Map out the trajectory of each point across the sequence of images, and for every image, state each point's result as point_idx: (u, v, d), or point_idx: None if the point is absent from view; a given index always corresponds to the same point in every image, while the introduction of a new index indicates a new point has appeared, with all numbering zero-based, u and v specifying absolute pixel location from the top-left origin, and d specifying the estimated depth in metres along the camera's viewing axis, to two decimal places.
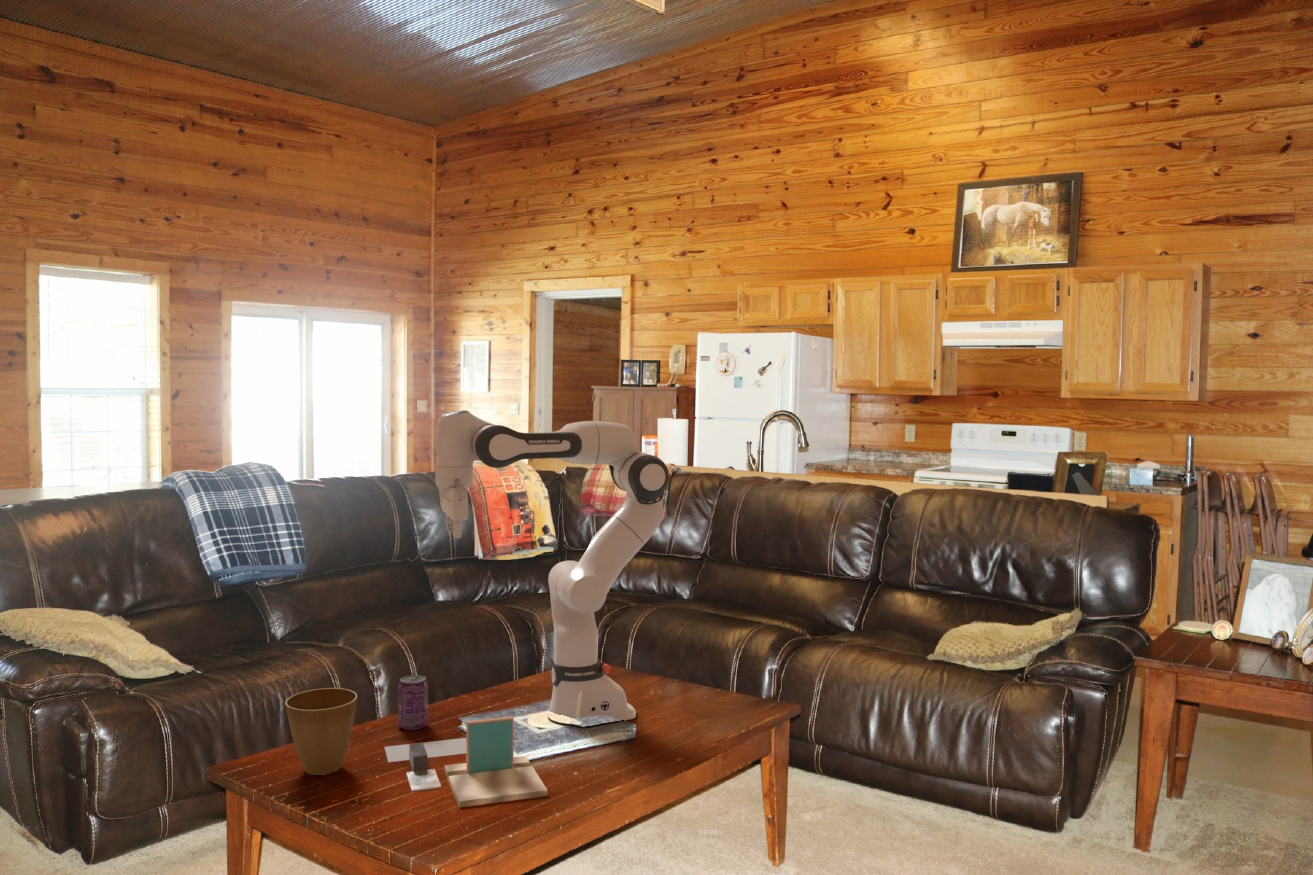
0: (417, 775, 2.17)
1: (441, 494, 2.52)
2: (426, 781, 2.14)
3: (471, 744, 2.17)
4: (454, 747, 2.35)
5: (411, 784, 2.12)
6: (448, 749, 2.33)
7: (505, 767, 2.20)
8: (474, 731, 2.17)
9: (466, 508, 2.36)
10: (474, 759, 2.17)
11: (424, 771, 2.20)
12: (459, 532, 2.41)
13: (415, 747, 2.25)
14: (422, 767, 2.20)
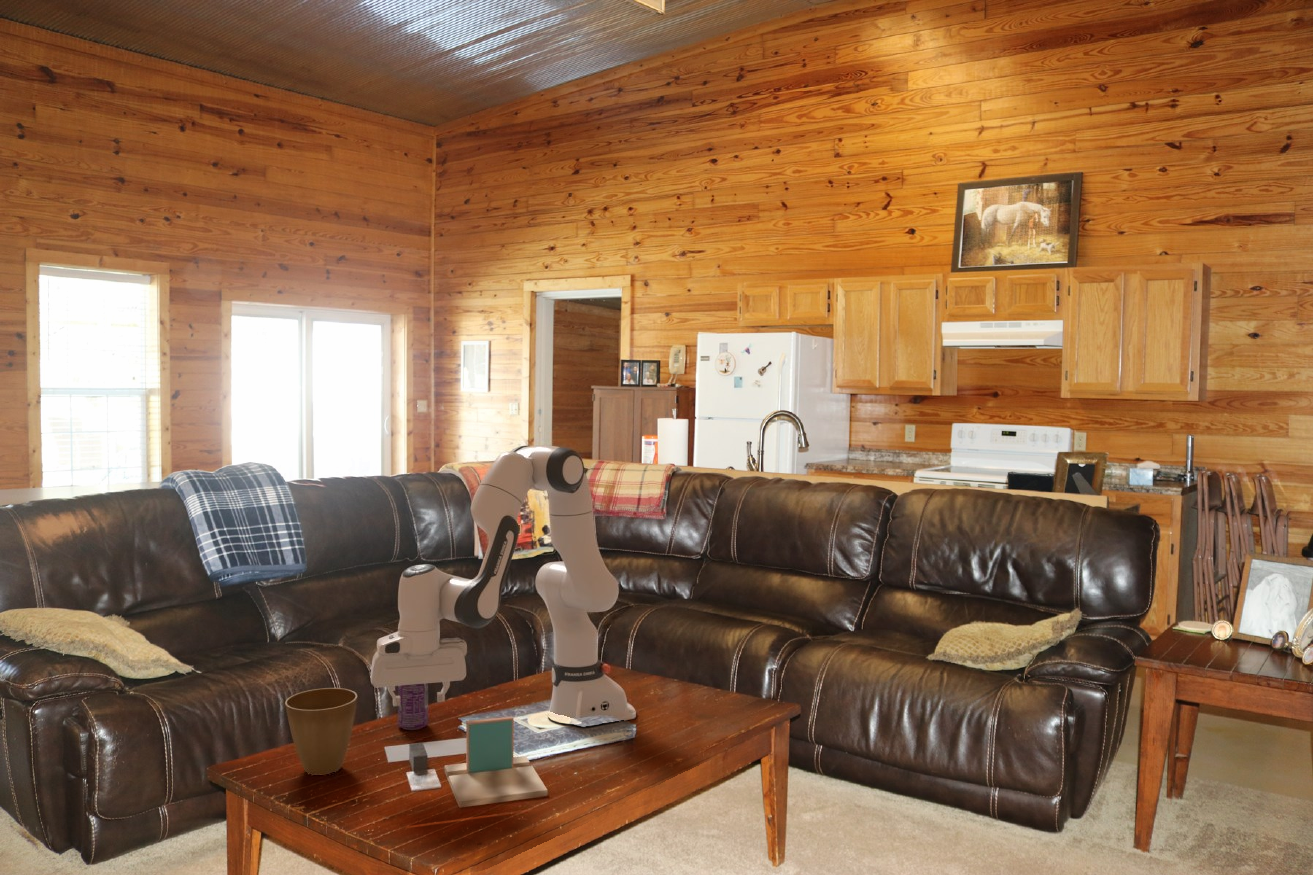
0: (417, 775, 2.17)
1: (382, 667, 2.16)
2: (426, 781, 2.14)
3: (471, 744, 2.17)
4: (454, 747, 2.35)
5: (411, 784, 2.12)
6: (448, 749, 2.33)
7: (505, 767, 2.20)
8: (474, 731, 2.17)
9: None
10: (474, 759, 2.17)
11: (424, 771, 2.20)
12: None
13: (415, 747, 2.25)
14: (422, 767, 2.20)
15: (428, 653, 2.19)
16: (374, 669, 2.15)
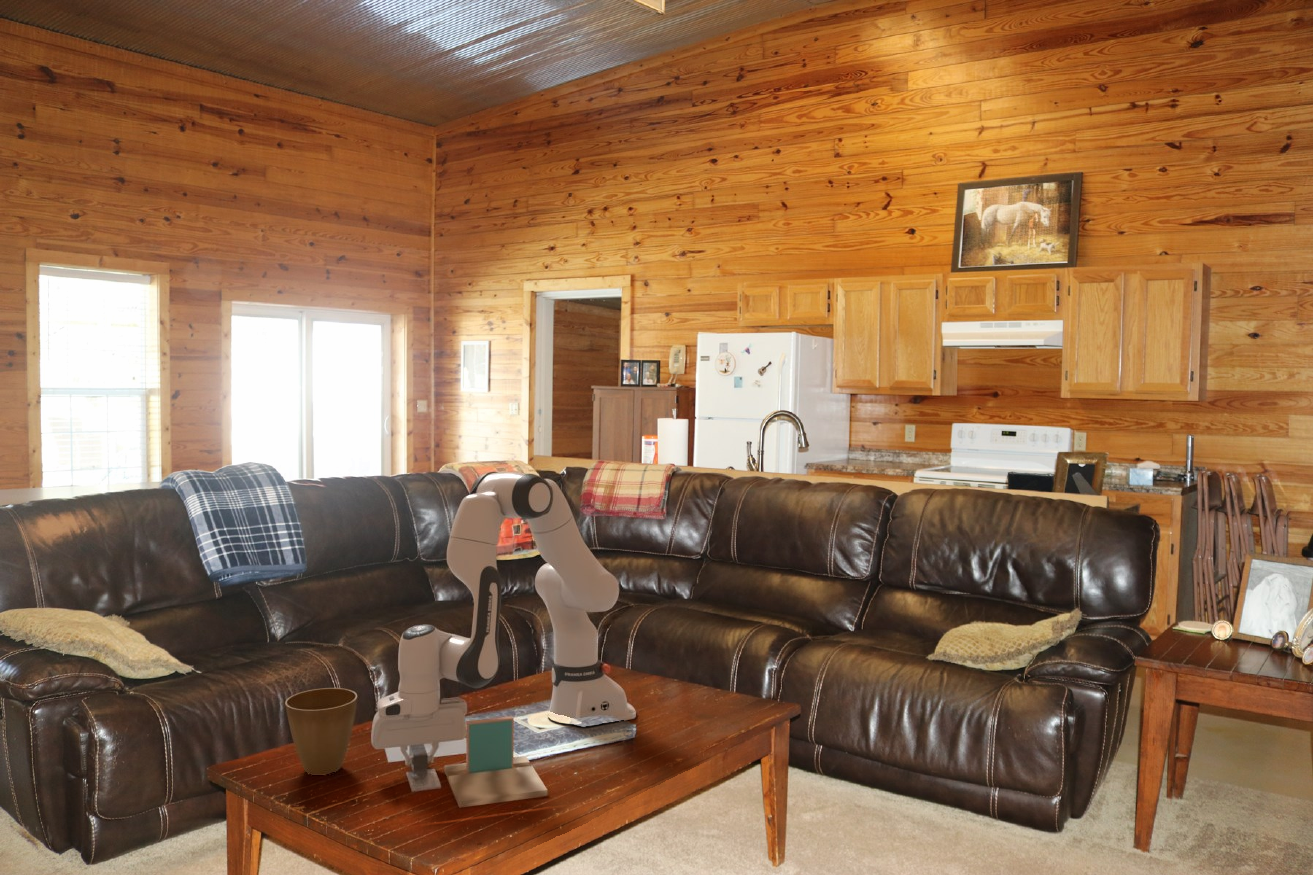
0: (417, 775, 2.17)
1: (382, 729, 2.17)
2: (426, 781, 2.14)
3: (471, 744, 2.17)
4: (454, 747, 2.35)
5: (411, 784, 2.12)
6: (448, 749, 2.33)
7: (505, 767, 2.20)
8: (474, 731, 2.17)
9: None
10: (474, 759, 2.17)
11: (424, 771, 2.20)
12: None
13: (415, 747, 2.25)
14: (422, 767, 2.20)
15: (428, 714, 2.19)
16: (375, 731, 2.16)
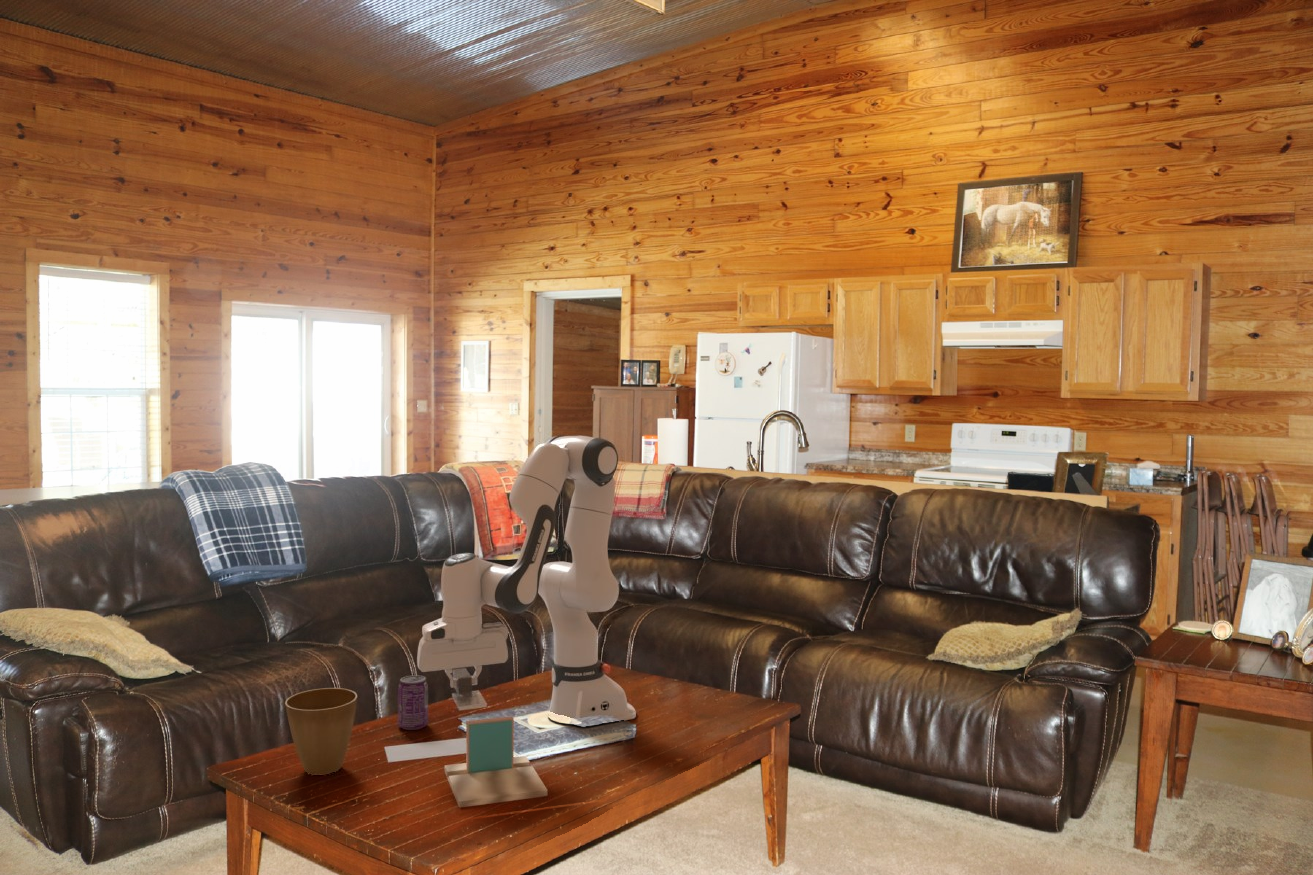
0: (463, 695, 2.26)
1: (428, 652, 2.26)
2: (472, 700, 2.23)
3: (471, 744, 2.17)
4: (454, 747, 2.35)
5: (458, 702, 2.21)
6: (448, 749, 2.33)
7: (505, 767, 2.20)
8: (474, 731, 2.17)
9: None
10: (474, 759, 2.17)
11: (469, 692, 2.28)
12: None
13: (459, 671, 2.34)
14: (467, 688, 2.29)
15: (471, 638, 2.28)
16: (421, 654, 2.25)
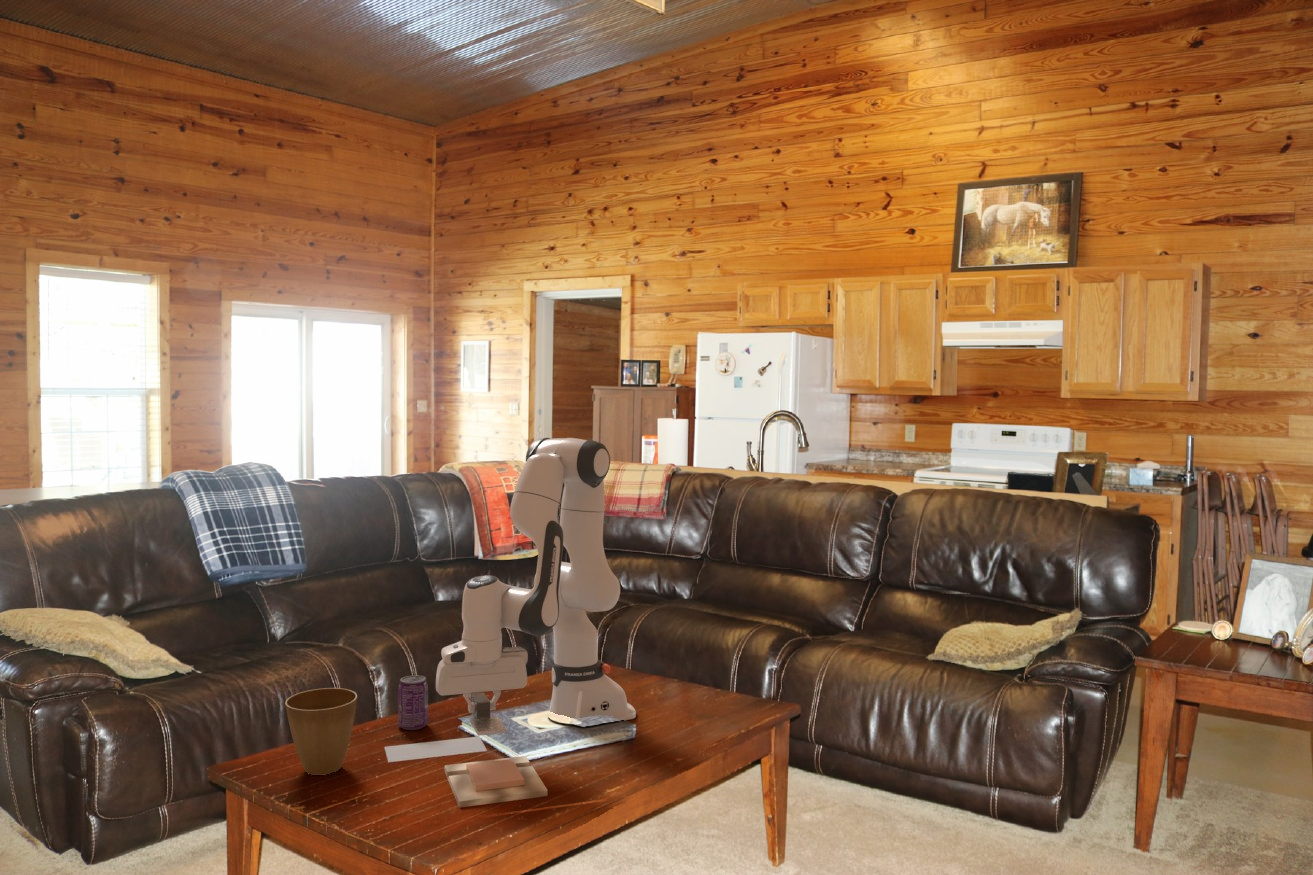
0: (481, 720, 2.23)
1: (447, 676, 2.23)
2: (491, 725, 2.20)
3: None
4: (454, 747, 2.35)
5: (476, 727, 2.18)
6: (448, 749, 2.33)
7: None
8: None
9: None
10: None
11: (487, 717, 2.25)
12: None
13: (477, 695, 2.31)
14: (485, 713, 2.26)
15: (491, 662, 2.25)
16: (440, 678, 2.22)
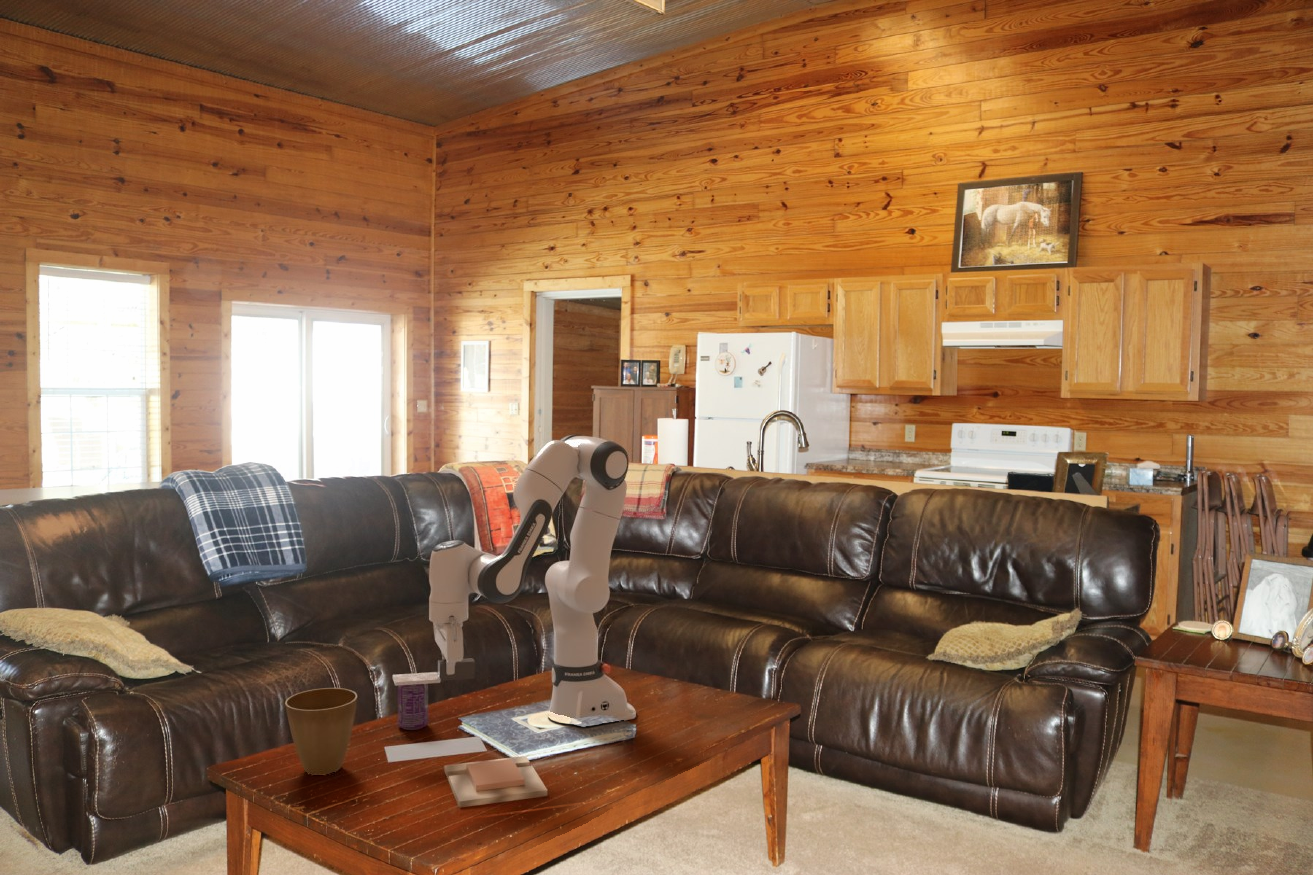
0: (426, 675, 2.33)
1: (435, 625, 2.40)
2: (409, 678, 2.31)
3: None
4: (454, 747, 2.35)
5: (405, 674, 2.33)
6: (448, 749, 2.33)
7: None
8: None
9: (461, 649, 2.25)
10: None
11: (435, 676, 2.32)
12: (452, 668, 2.31)
13: None
14: (438, 673, 2.33)
15: (438, 624, 2.31)
16: None
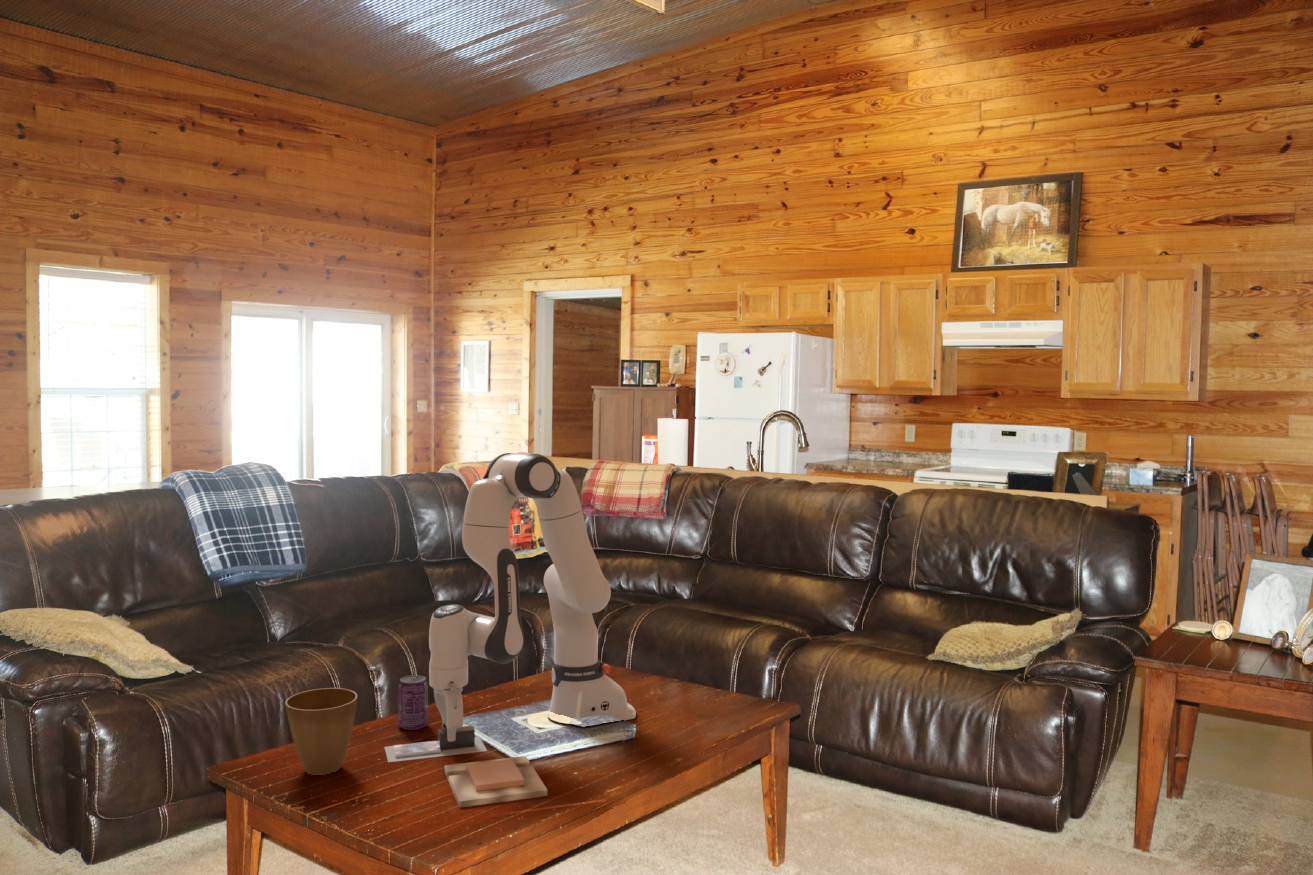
0: (426, 744, 2.34)
1: (435, 688, 2.41)
2: (410, 748, 2.32)
3: None
4: None
5: (405, 744, 2.34)
6: None
7: None
8: None
9: (461, 716, 2.26)
10: None
11: (435, 746, 2.33)
12: (453, 735, 2.31)
13: (462, 728, 2.36)
14: (439, 742, 2.34)
15: (438, 689, 2.32)
16: None
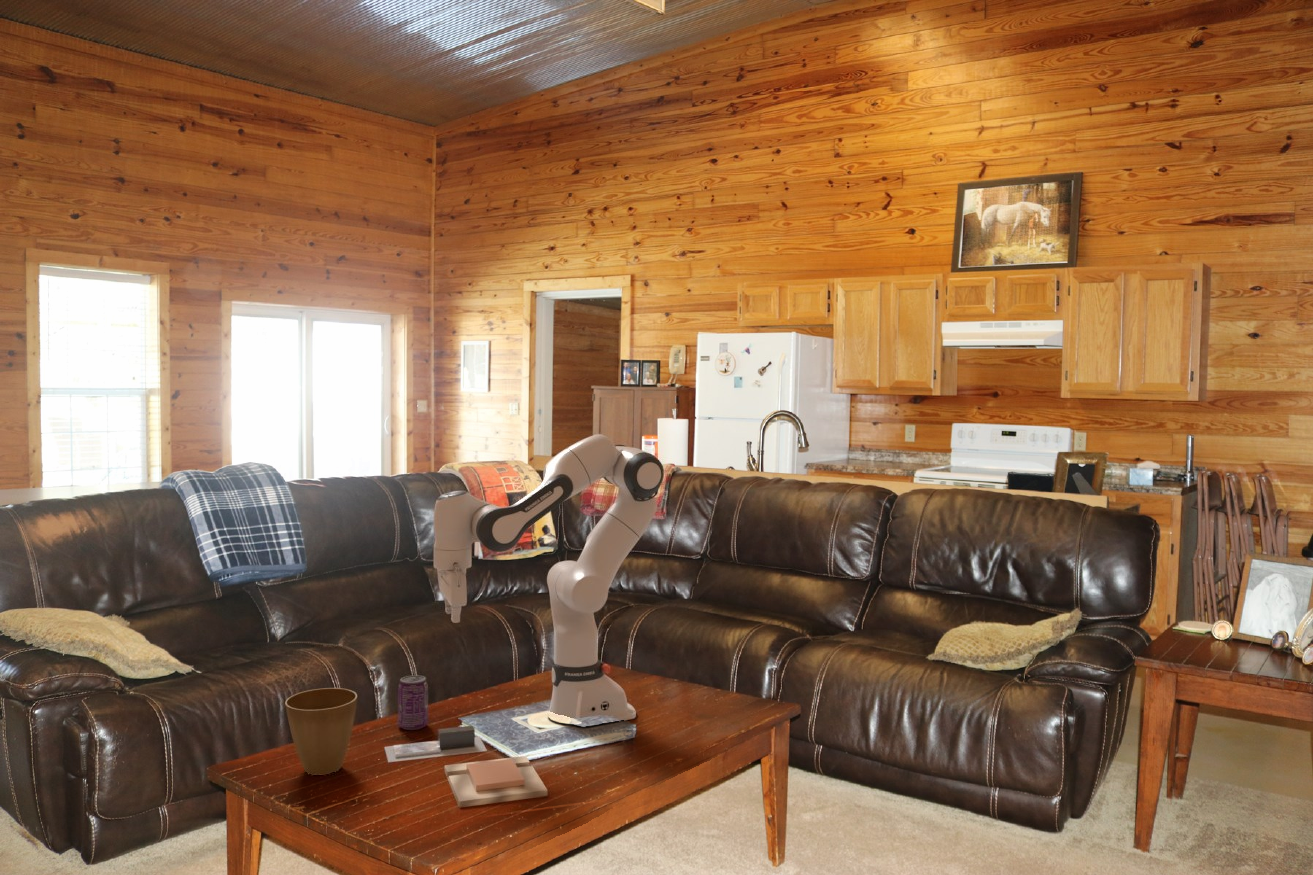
0: (426, 744, 2.34)
1: (439, 574, 2.47)
2: (410, 748, 2.32)
3: None
4: None
5: (405, 744, 2.34)
6: None
7: None
8: None
9: (464, 594, 2.31)
10: None
11: (435, 746, 2.33)
12: (457, 616, 2.36)
13: (462, 728, 2.36)
14: (439, 742, 2.34)
15: (442, 571, 2.37)
16: None
